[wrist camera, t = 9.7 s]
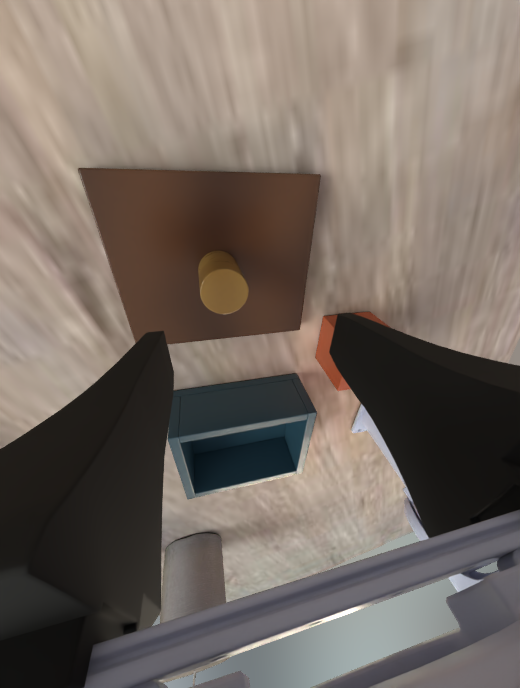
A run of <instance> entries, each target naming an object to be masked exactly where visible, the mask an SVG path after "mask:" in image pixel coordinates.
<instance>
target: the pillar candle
mask: <svg viewBox="0 0 520 688" xmlns="http://www.w3.org/2000/svg"><path fill="white" fill-rule="evenodd" d="M224 603H226V595H225V582H224V569H223V555H222V543H221V537H220V536H219V535H216V534H209V533H204V534H196V535H192V536H190V537H187V538H184V539H180V540H177V541H175V542H173V543H172V544H170V545H169V546H168V547H167V548H166V551H165V560H164V570H163V585H162V601H161V616H160V624H161V623H164V622H167V621H170V620H174V619H177V618H180V617H183V616H186V615H189V614H192V613H196V612H199V611H202V610H205V609H208V608H211V607H215V606H218V605H221V604H224ZM228 658H229V657H227V658H225V659H222V660H219V661H216V662H214V663H211V664H208V665H205V666H202V667H200V668H197V669H194V670H191V671H189V672H186V673H183V674H180V675H178V676H175V677H172V678H169V679H167V680H164V681H161V682H162V683H164V682H168V681H172V680H175V679H178V678H181V677H185V676H188V675H191V674H194V679H193V686H194V685H195V678H196V673H197V672H200V671H202V670H205V669H207V668H210V667H212V666H215V665H217V664H220V663H222V662H224V661H225V660H227V659H228Z"/></svg>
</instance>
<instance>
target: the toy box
mask: <svg viewBox="0 0 520 688" xmlns="http://www.w3.org/2000/svg"><path fill="white" fill-rule="evenodd" d="M316 414H317V411H316V409H315V407H314V406H313V404H312V402H311V400H310V398H309V396H308V394H307V392H306V390H305V388H304V386H303V385H302V383H301V381H300V379H299V377H298V375H297V374H289V375H282V376H275V377H268V378H261V379H254V380H247V381H240V382H233V383H226V384H219V385H212V386H205V387H198V388H191V389H184V390H177V391H173V400H172V407H171V414H170V420H169V429H168V441H169V444H170V448H171V451H172V454H173V457H174V460H175V463H176V466H177V469H178V472H179V475H180V478H181V481H182V484H183V487H184V490H185V493H186V496H187V499H192V498H195V497H201V496H205V495H209V494H214V493H218V492H222V491H226V490H231V489H235V488H239V487H244V486H248V485H252V484H257V483H261V482H265V481H270V480H274V479H278V478H283V477H287V476H291V475H295V474H300V473H303V468H304V464H305V460H306V456H307V452H308V448H309V443H310V439H311V435H312V431H313V427H314V423H315V418H316Z"/></svg>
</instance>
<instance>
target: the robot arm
mask: <svg viewBox="0 0 520 688" xmlns="http://www.w3.org/2000/svg"><path fill="white" fill-rule="evenodd" d="M329 353H330V355H331V357H332V359H333V362H334V364H335V365H336V367H337V369H338V371H339V372H340V374H341V375H342V377H343V378H344V380H345V381H346V383H347V384H348V385H349V387H350V388H351V390H352V391H353V392H354V394H355V395H356V397H357V398H358V399H359V401H360V402H361V406H360V408H359V411H358V414H357V416H356V419H355V421H354V424H353V426H352V429H351V431H352V432H353V433H358V432H363V431H368V432H369V433H370V435H371V436H372V438H373V439H374V441H375V442H376V444H377V445H378V447H379V448H380V450H381V451H382V452H383V454H384V455H385V457H386V458H387V460H388V461H389V463H390V464H391V466H392V467H393V469H394V470H395V472H396V473H397V474H398V476H399V477H400V479H401V480H402V482H403V483H404V485H405V486H406V487H405V488H403V491H404V492H405V494H406V495H407V498H406V499H405V500H404V511H405V515H406V517H407V519H408V522H409V524H410V525H411V527H412V529H413V531H414V533H415V534H416V536H417V537H418V539H419V540H420V541H419V542H416V543H413V544H410V545H407V546H404V547H400V548H397V549H394V550H391V551H388V552H385V553H381V554H378V555H375V556H372V557H369V558H366V559H363V560H360V561H356V562H353V563H350V564H347V565H344V566H341V567H338V568H334V569H331V570H328V571H325V572H322V573H318V574H315V575H312V576H309V577H306V578H303V579H300V580H296V581H293V582H290V583H287V584H284V585H281V586H278V587H274V588H271V589H268V590H265V591H262V592H259V593H255V594H252V595H249V596H246V597H243V598H240V599H237V600H233V601H230V602H227V603H224V604H221V605H218V606H215V607H211V608H208V609H205V610H202V611H199V612H196V613H192V614H189V615H186V616H183V617H180V618H177V619H174V620H170V621H167V622H164V623H161V624H158V625H155V626H152V625H153V623H154V622H155V620H156V619H157V617H158V615H159V614H160V612H161V538H162V498H163V473H164V456H165V447H166V440H167V433H168V427H169V420H170V414H171V407H172V400H173V389H174V371H173V367H172V363H171V359H170V354H169V350H168V346H167V342H166V338H165V334H164V331H156V332H147V333H145V334H144V335H143V336H142V337H141V338H140V340H139V341H138V342H137V343H136V344H135V345H134V346H133V347H132V348H131V349H130V350H129V351H128V352H127V353H126V354H125V355H124V356H123V357H122V358H121V359H120V360H119V361H118V362H117V363H116V364H115V365H114V366H113V367H112V368H111V369H110V370H109V371H107V372H106V373H105V374H104V375H103V376H102V377H101V378H100V379H99V380H98V381H96V382H95V383H94V384H93V385H92V386H91V387H90V388H88V389H87V390H86V391H85V392H83V393H82V394H81V395H80V396H78V397H77V398H76V399H74V400H73V401H72V402H70V403H69V404H68V405H66V406H65V407H64V408H62V409H61V410H60V411H58V412H57V413H55V414H54V415H52V416H51V417H49V418H48V419H46V420H45V421H43V422H42V423H40V424H39V425H37V426H36V427H34V428H33V429H31V430H30V431H28V432H27V433H25V434H24V435H22V436H21V437H19V438H18V439H16V440H15V441H13V442H11V443H10V444H8V445H6V446H5V447H3V448H1V449H0V688H168V687H167V686H166V685H165V684H163V683H162V682H161V681H164V680H167V679H169V678H172V677H175V676H178V675H180V674H183V673H186V672H189V671H191V670H194V669H197V668H200V667H202V666H205V665H208V664H211V663H214V662H216V661H219V660H222V659H225V658H227V657H230V656H233V655H235V654H238V653H241V652H244V651H247V650H249V649H252V648H255V647H258V646H260V645H263V644H266V643H269V642H271V641H274V640H277V639H280V638H283V637H285V636H288V635H291V634H294V633H296V632H299V631H302V630H305V629H307V628H310V627H313V626H316V625H319V624H321V623H324V622H327V621H330V620H332V619H335V618H338V617H341V616H343V615H346V614H349V613H352V612H355V611H357V610H360V609H363V608H365V607H368V606H371V605H374V604H377V603H379V602H382V601H385V600H388V599H391V598H393V597H396V596H399V595H402V594H404V593H407V592H410V591H413V590H415V589H418V588H421V587H424V586H426V585H429V584H432V583H435V582H438V581H440V580H443V579H446V578H449V580H450V581H451V583H452V584H453V586H454V587H455V589H456V590H457V591H458V593H455V594H454V595H451V596H449V597H447V599H446V602H447V604H448V606H449V608H450V610H451V611H452V613H453V614H454V616H455V618H456V620H457V621H458V623H459V626H460V628H458V629H455V630H453V631H450V632H447V633H445V634H443V635H440V636H437V637H435V638H433V639H430V640H427V641H425V642H422V643H420V644H417V645H415V646H412V647H410V648H407V649H405V650H402V651H399V652H397V653H394V654H392V655H389V656H387V657H384V658H382V659H380V660H377V661H374V662H372V663H369V664H367V665H365V666H362V667H360V668H357V669H355V670H352V671H350V672H347V673H345V674H343V675H340V676H338V677H335V678H333V679H330V680H328V681H326V682H323V683H321V684H318V685H316V686H313V687H311V688H520V366H517V365H512V364H508V363H503V362H498V361H494V360H490V359H485V358H481V357H477V356H473V355H469V354H465V353H461V352H458V351H455V350H451V349H448V348H445V347H441V346H438V345H435V344H432V343H429V342H426V341H423V340H421V339H418V338H415V337H412V336H410V335H407V334H405V333H402V332H400V331H397V330H395V329H392V328H390V327H387V326H385V325H382V324H380V323H377V322H375V321H372V320H370V319H367V318H365V317H362V316H359V315H356V314H352V313H345V314H338V315H337V319H336V324H335V328H334V332H333V337H332V341H331V346H330V350H329ZM495 561H497V567H498V570H497V571H495V572H492V573H486V574H484V573H480V572H477V571H475V570H477V569H479V568H482V567H484V566H486V565H488V564H491V563H493V562H495ZM151 626H152V627H151ZM190 688H250V683H249V678H248V677H247V676H246V675H244V674H243V673H242V672H241V671H238V672H235V673H232V674H229V675H226V676H223V677H220V678H217V679H214V680H211V681H208V682H205V683H202V684H199V685H196V686H193V687H190Z"/></svg>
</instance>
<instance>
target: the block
mask: <svg viewBox="0 0 520 688" xmlns="http://www.w3.org/2000/svg"><path fill="white" fill-rule="evenodd" d="M352 314H356V315H359V316H362V317H365V318H367V319H370V320H372V321H375V322H377V323H380V324H382V325H385V326H387V327H389V326H388V325H386V324H385V323H384V322H383V321H381V320H380V319H379V318H377V317H376V316H375V315H374V314H372V313H371V312H361V313H352ZM336 319H337V315H330V316H323V321H322V326H321V331H320V336H319V341H318V347H317V352H316V357H315V358H316V359H317V361H318V362H319V364H320V365H321V367H322V368H323V370H324V371H325V373H326V374H327V376H328V377H329V379H330V380H331V382H332V383H333V385H334V386H335V387H336V389H337V390H338V391H341V390H347V389H351V388H350V387H349V385H348V384H347V383H346V381H345V380H344V378H343V377H342V375H341V374H340V372H339V371H338V369H337V367H336V365H335V364H334V362H333V359H332V357H331V355H330V353H329V350H330V346H331V341H332V337H333V332H334V328H335V324H336Z"/></svg>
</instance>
